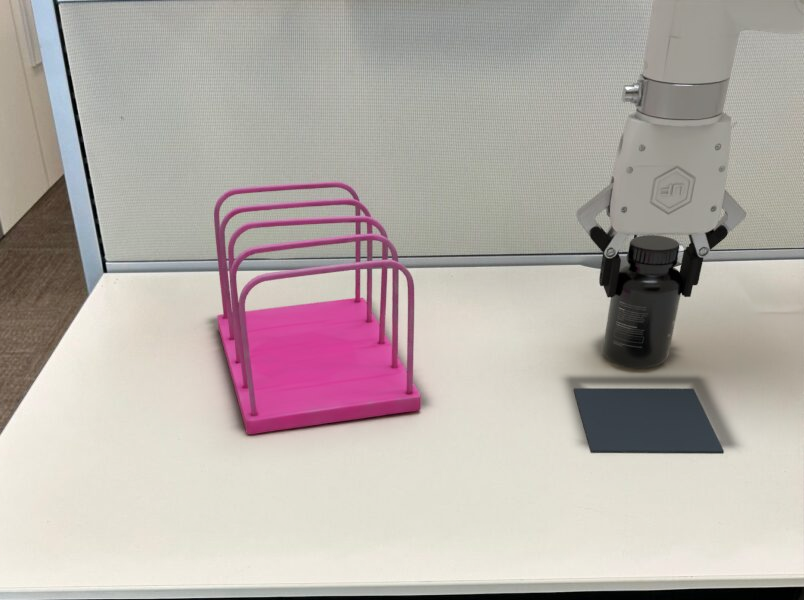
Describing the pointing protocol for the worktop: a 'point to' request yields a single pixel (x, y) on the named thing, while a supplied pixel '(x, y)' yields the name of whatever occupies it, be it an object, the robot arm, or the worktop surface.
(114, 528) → the worktop surface
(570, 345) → the worktop surface
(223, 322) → the file sorter
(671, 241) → the supplement bottle
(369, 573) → the worktop surface
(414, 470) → the worktop surface
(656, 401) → the mat
